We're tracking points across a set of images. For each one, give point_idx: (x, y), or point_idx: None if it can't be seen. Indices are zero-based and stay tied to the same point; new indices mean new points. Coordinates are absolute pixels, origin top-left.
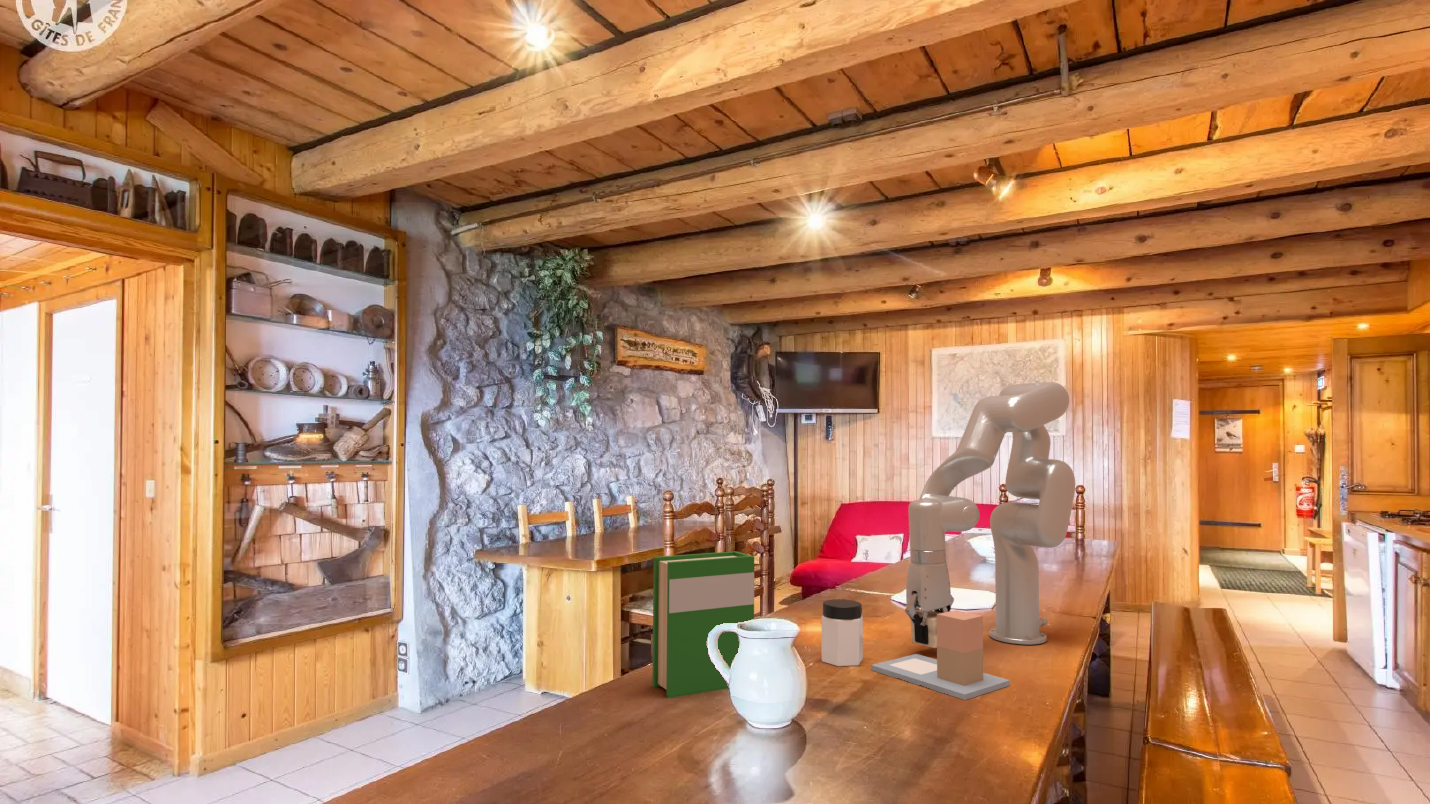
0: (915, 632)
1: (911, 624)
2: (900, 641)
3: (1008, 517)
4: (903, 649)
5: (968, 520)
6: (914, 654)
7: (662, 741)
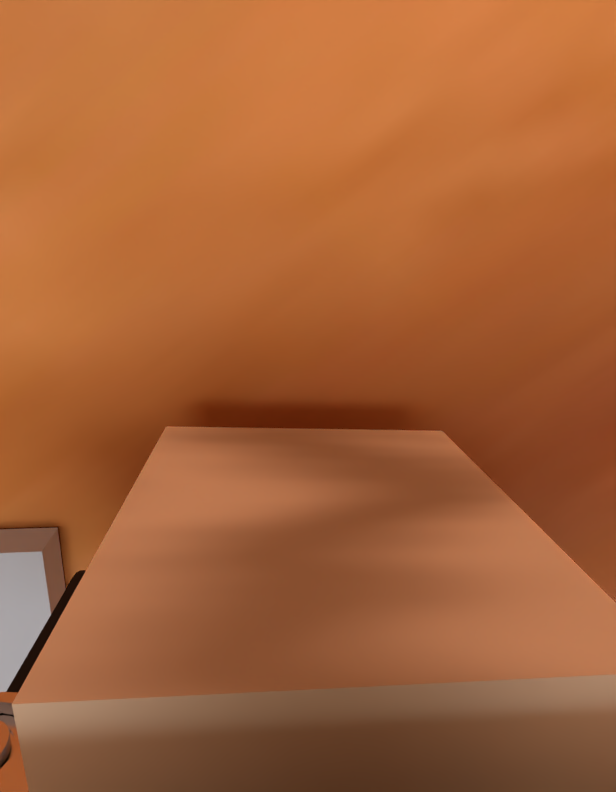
0: (48, 619)
1: (102, 550)
2: (408, 79)
3: None
4: (188, 292)
5: None
6: (13, 555)
7: None
